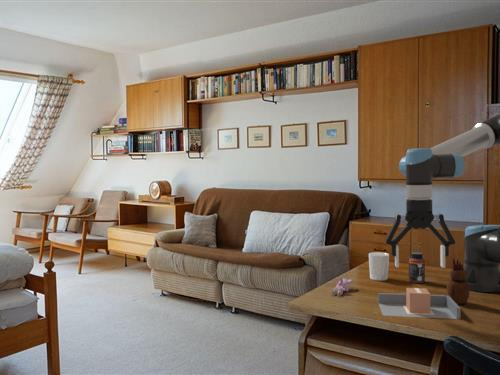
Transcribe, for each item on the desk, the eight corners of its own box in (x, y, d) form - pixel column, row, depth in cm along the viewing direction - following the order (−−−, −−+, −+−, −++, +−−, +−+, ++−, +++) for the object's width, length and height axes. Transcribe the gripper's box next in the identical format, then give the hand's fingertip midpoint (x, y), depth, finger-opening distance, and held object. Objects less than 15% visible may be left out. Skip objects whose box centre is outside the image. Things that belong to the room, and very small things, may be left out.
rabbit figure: (343, 302, 154) (357, 285, 166) (342, 286, 153) (356, 270, 165) (326, 299, 157) (341, 283, 170) (325, 283, 156) (340, 268, 169)
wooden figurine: (449, 305, 145) (450, 259, 144) (444, 299, 151) (445, 255, 150) (471, 305, 144) (472, 259, 143) (465, 300, 150) (466, 256, 149)
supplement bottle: (424, 284, 170) (424, 254, 170) (408, 282, 173) (408, 253, 172) (425, 280, 176) (425, 252, 175) (409, 279, 178) (409, 251, 178)
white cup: (366, 276, 184) (366, 252, 183) (386, 276, 183) (386, 252, 183) (371, 281, 176) (371, 256, 175) (391, 281, 176) (391, 256, 175)
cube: (430, 313, 136) (430, 293, 136) (409, 312, 137) (409, 292, 137) (425, 307, 142) (425, 288, 142) (406, 306, 143) (406, 287, 143)
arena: (448, 306, 144) (448, 295, 144) (460, 319, 131) (460, 308, 131) (377, 303, 148) (378, 292, 148) (382, 316, 135) (383, 305, 135)
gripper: (458, 196, 139) (458, 264, 141) (376, 198, 144) (376, 263, 145) (466, 198, 132) (466, 269, 133) (378, 200, 136) (379, 269, 137)
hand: (419, 266), depth 139 cm, fingers open, 13 cm apart
